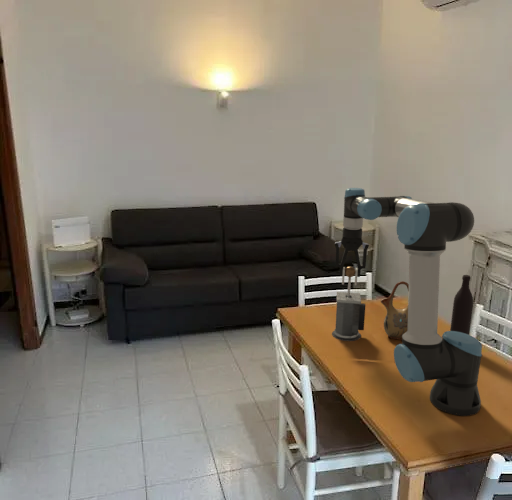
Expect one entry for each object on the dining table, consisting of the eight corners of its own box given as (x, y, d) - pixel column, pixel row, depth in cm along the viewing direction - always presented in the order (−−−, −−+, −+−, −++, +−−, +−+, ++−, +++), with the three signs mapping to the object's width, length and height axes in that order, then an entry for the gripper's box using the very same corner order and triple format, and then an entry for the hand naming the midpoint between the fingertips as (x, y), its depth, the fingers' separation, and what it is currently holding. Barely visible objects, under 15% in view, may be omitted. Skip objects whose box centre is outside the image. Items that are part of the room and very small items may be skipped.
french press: (363, 341, 200) (366, 301, 196) (334, 338, 202) (336, 300, 197) (362, 331, 210) (365, 293, 205) (334, 328, 211) (336, 291, 207)
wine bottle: (467, 345, 199) (476, 274, 191) (466, 352, 193) (476, 279, 185) (449, 341, 202) (457, 272, 194) (447, 349, 196) (456, 277, 188)
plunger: (355, 325, 201) (359, 269, 194) (339, 324, 202) (342, 268, 195) (354, 319, 207) (358, 264, 201) (339, 318, 208) (342, 263, 202)
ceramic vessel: (413, 333, 209) (419, 277, 202) (420, 343, 200) (426, 285, 194) (375, 333, 209) (379, 277, 202) (380, 343, 200) (385, 284, 194)
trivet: (361, 343, 199) (361, 342, 199) (331, 341, 201) (331, 339, 201) (360, 331, 211) (360, 329, 211) (332, 329, 213) (332, 327, 212)
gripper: (374, 226, 196) (370, 282, 202) (330, 224, 199) (327, 279, 205) (376, 230, 189) (371, 288, 195) (330, 228, 192) (327, 285, 198)
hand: (349, 283), depth 200 cm, fingers closed on plunger, 4 cm apart
